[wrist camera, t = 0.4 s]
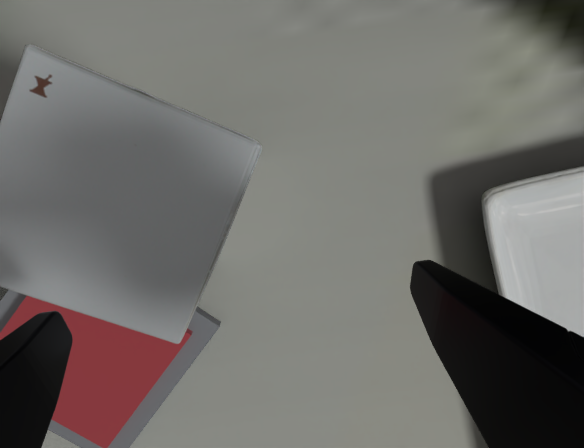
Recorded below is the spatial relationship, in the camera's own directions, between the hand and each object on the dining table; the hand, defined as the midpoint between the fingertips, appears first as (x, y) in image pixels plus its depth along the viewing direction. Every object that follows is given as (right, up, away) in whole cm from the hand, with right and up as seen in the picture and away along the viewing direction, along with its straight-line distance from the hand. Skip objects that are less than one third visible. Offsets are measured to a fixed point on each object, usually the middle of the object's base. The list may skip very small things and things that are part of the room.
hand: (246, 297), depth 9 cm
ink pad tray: (-12, -6, +14) cm, 20 cm away
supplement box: (-6, +4, +14) cm, 16 cm away
